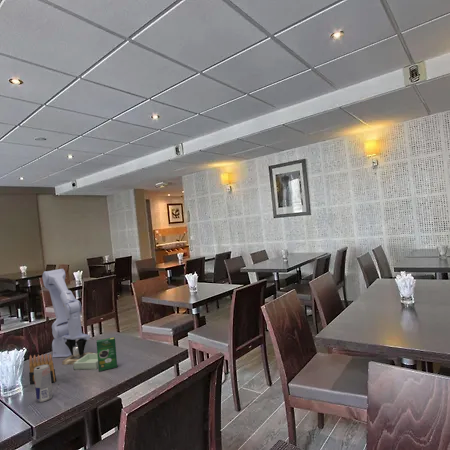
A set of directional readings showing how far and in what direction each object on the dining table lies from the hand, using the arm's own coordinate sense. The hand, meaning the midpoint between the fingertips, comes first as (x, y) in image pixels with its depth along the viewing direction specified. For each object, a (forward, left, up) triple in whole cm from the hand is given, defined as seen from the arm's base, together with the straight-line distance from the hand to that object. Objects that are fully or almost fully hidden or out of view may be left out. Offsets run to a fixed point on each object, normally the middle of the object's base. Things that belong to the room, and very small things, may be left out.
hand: (77, 354), depth 163 cm
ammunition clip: (-1, -23, -3) cm, 23 cm away
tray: (+11, -6, -3) cm, 13 cm away
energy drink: (+10, -36, -3) cm, 37 cm away
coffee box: (+22, -11, -3) cm, 25 cm away
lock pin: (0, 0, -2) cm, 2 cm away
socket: (0, 0, -3) cm, 3 cm away
